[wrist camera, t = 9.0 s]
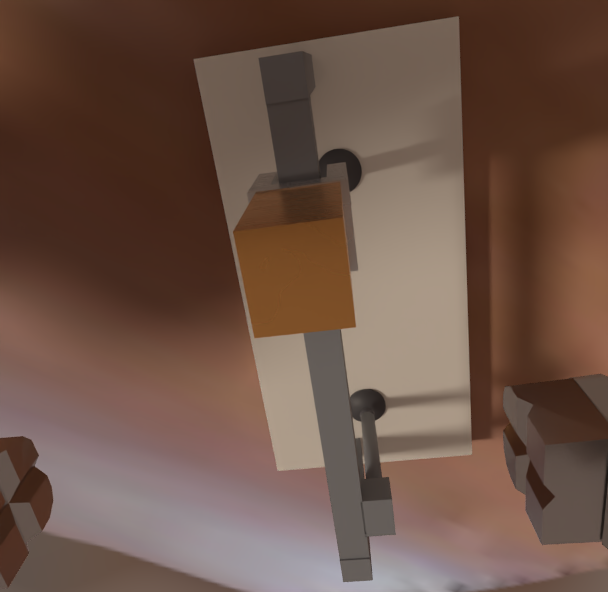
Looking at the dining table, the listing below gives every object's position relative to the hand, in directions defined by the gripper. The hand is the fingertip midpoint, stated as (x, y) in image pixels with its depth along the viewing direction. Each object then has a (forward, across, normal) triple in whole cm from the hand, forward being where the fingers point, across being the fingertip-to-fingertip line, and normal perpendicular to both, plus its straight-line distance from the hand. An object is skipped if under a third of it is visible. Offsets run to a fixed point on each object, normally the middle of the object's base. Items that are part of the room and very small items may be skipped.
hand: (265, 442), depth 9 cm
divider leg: (+23, -1, 0) cm, 23 cm away
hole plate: (+25, -2, +7) cm, 26 cm away
